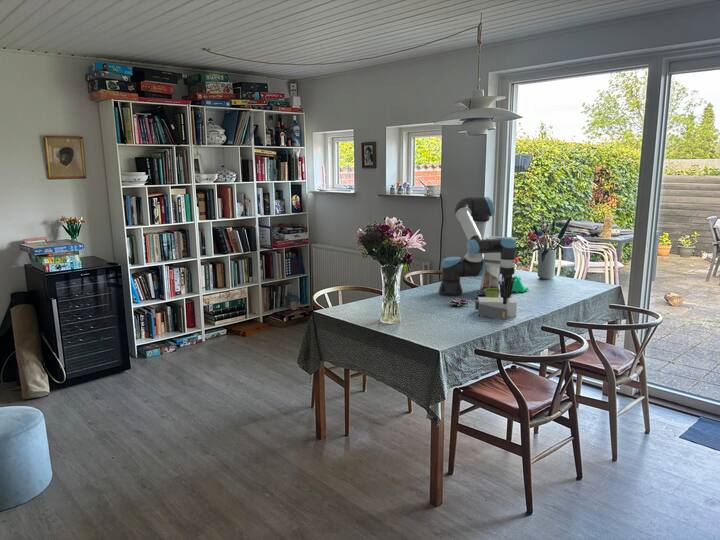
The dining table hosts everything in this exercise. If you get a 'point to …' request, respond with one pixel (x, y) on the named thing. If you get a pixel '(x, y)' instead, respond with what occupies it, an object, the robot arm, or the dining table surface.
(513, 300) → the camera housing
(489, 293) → the plant pot
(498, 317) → the side door
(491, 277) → the display case
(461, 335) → the dining table surface
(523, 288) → the camera mount
